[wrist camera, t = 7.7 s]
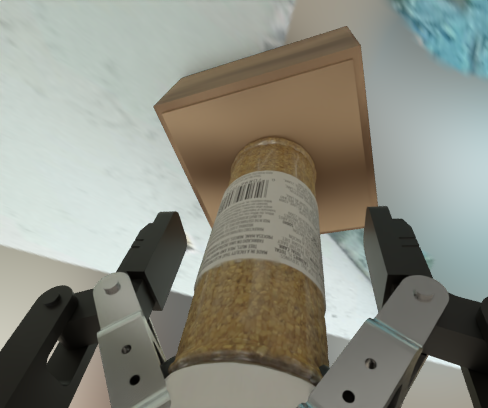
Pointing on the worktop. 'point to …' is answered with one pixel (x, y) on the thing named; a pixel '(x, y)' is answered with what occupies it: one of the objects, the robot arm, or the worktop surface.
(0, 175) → the worktop surface
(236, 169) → the sprinkles bottle
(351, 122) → the walnut block
